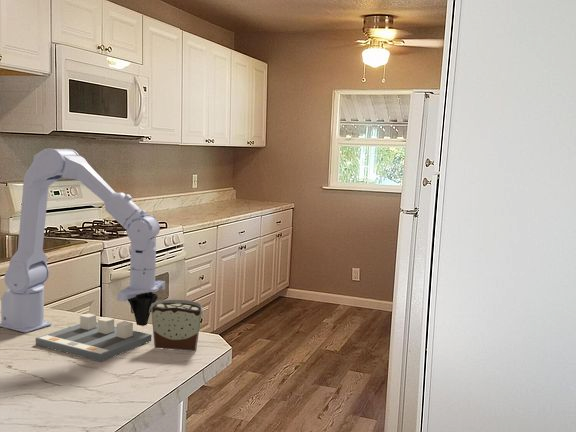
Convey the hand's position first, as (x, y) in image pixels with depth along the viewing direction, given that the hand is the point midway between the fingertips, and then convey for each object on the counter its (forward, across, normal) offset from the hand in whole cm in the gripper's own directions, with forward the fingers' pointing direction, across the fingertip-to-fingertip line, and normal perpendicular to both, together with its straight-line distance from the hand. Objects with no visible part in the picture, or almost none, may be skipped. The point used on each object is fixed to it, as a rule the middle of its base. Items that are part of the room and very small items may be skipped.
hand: (141, 324), depth 139 cm
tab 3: (+1, -6, 0) cm, 6 cm away
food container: (+3, 0, -11) cm, 11 cm away
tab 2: (+1, -6, +5) cm, 8 cm away
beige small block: (+1, -6, +11) cm, 12 cm away
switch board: (+3, -9, +6) cm, 11 cm away
